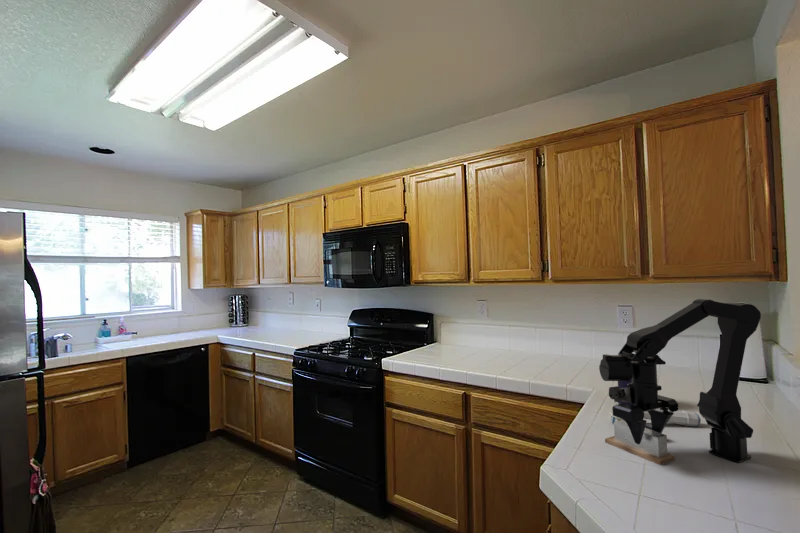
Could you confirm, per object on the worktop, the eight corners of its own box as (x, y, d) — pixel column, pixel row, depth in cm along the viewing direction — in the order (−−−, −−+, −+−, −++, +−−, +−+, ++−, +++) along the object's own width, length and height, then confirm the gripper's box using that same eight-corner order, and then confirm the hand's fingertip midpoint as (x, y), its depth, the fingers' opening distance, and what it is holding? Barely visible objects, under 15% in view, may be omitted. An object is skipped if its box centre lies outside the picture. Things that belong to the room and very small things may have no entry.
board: (674, 459, 97) (674, 455, 97) (660, 465, 95) (660, 460, 95) (619, 438, 111) (619, 434, 111) (605, 442, 108) (605, 438, 108)
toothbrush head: (702, 416, 116) (615, 403, 119) (700, 438, 116) (613, 424, 119) (692, 410, 121) (608, 398, 125) (689, 431, 121) (606, 418, 125)
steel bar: (667, 455, 97) (666, 435, 98) (658, 458, 96) (657, 437, 96) (623, 437, 108) (622, 419, 109) (614, 440, 107) (613, 422, 107)
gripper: (637, 370, 112) (639, 424, 112) (593, 378, 104) (595, 436, 104) (678, 378, 102) (681, 438, 102) (632, 388, 94) (635, 453, 94)
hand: (647, 440), depth 100 cm, fingers open, 7 cm apart
